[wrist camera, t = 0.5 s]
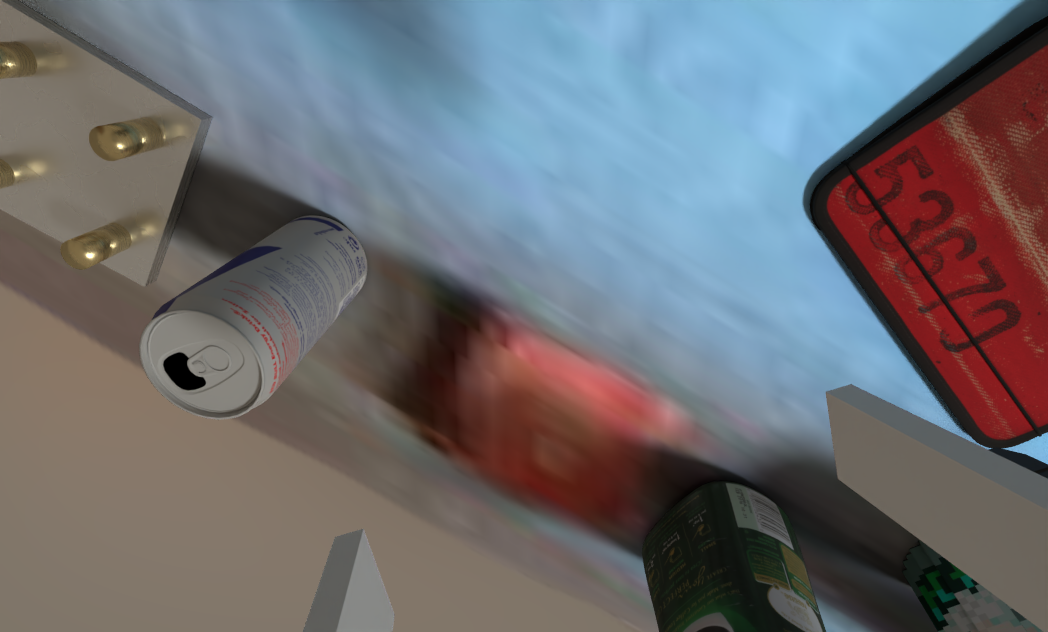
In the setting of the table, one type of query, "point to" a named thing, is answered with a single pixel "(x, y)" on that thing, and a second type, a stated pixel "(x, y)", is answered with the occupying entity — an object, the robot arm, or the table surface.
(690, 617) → the coffee jar
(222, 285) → the energy drink
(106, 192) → the chassis plate
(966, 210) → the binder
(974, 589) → the can
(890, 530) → the table surface
